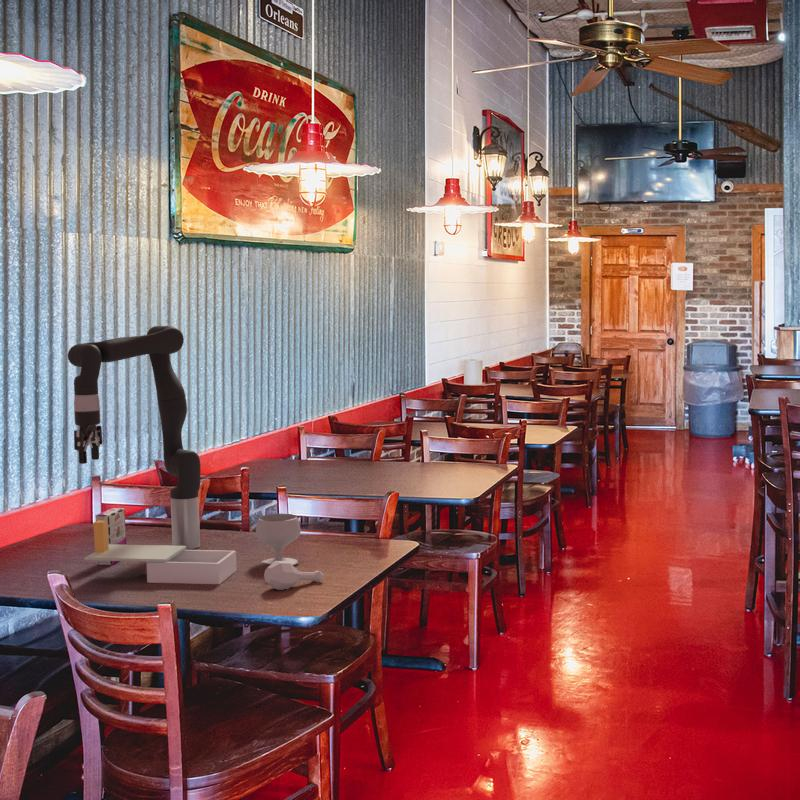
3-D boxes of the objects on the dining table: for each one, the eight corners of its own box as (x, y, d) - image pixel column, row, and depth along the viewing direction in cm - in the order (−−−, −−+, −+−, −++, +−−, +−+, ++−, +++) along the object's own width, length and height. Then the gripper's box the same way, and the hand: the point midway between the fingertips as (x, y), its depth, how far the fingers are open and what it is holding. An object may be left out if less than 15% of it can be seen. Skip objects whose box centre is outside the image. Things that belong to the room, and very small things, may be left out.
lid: (109, 546, 321) (107, 515, 320) (186, 548, 317) (185, 516, 316) (84, 560, 304) (82, 527, 303) (165, 562, 300) (164, 528, 300)
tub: (167, 571, 318) (167, 549, 318) (236, 573, 315) (236, 550, 314) (147, 585, 302) (146, 562, 302) (219, 587, 299) (218, 563, 298)
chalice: (304, 568, 320) (302, 520, 318) (258, 571, 317) (257, 523, 315) (298, 557, 333) (297, 511, 332) (255, 560, 330) (253, 514, 329)
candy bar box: (113, 557, 339) (111, 507, 337) (127, 557, 338) (125, 507, 336) (96, 565, 328) (94, 514, 326) (111, 566, 327) (109, 514, 325)
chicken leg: (329, 587, 300) (327, 559, 303) (276, 586, 289) (274, 557, 292) (314, 593, 306) (311, 565, 309) (261, 592, 295) (259, 563, 298)
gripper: (88, 411, 310) (90, 465, 311) (108, 406, 324) (110, 458, 325) (64, 411, 311) (67, 465, 312) (86, 406, 325) (88, 458, 326)
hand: (89, 461), depth 319 cm, fingers open, 8 cm apart
